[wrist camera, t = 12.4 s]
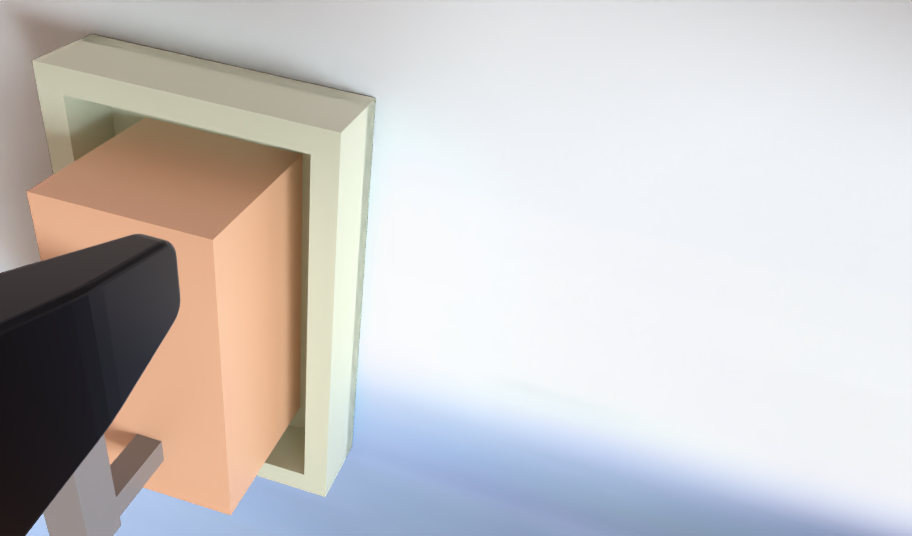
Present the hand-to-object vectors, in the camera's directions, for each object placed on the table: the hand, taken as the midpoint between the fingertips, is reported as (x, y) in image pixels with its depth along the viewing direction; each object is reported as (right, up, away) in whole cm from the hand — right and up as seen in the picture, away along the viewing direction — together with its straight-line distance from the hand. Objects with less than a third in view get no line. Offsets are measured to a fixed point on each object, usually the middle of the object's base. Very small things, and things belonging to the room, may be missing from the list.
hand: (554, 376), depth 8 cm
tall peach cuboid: (-8, +1, +17) cm, 19 cm away
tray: (-8, +1, +18) cm, 20 cm away
